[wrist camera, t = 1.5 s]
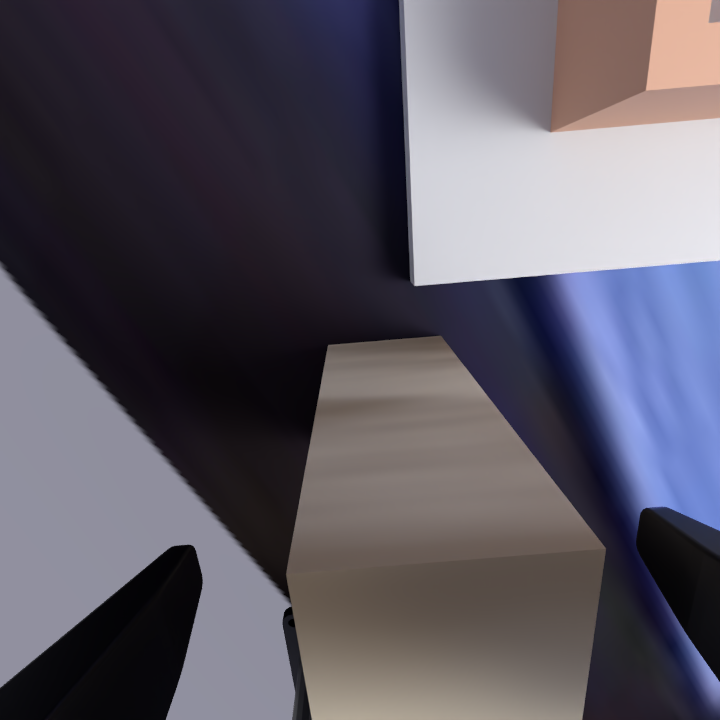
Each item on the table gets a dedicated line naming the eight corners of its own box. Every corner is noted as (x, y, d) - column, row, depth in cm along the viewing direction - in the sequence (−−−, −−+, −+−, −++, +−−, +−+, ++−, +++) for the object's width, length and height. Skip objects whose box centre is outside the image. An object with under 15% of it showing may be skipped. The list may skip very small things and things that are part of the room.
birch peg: (442, 435, 16) (577, 753, 6) (338, 444, 16) (320, 772, 6) (440, 335, 15) (605, 548, 5) (328, 345, 15) (285, 574, 5)
